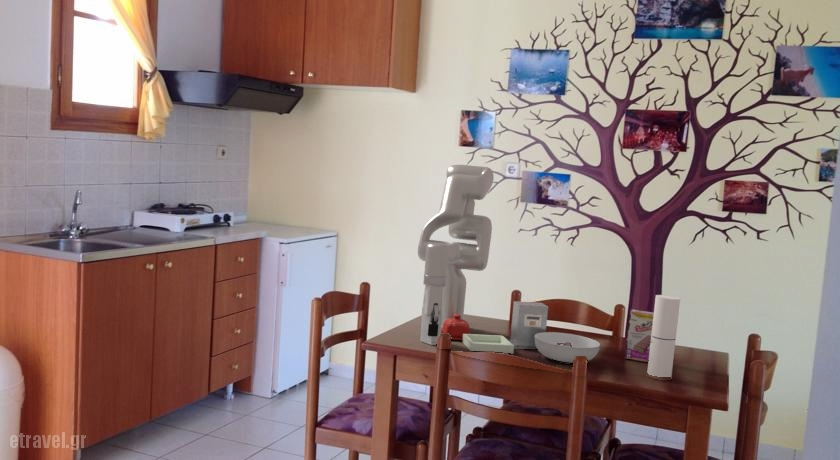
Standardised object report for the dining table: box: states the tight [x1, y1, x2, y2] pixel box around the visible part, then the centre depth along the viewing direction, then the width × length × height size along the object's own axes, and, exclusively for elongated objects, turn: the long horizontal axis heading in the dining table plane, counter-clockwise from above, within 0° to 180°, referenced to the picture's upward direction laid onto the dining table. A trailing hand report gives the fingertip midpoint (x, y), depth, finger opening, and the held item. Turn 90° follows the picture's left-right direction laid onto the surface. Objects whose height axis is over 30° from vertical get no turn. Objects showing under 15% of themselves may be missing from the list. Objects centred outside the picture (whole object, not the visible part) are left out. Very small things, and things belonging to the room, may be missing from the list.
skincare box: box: [419, 305, 442, 346], centre depth 254 cm, size 6×4×12 cm
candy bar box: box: [624, 309, 654, 360], centre depth 254 cm, size 11×5×16 cm, turn 71°
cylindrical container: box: [646, 294, 681, 378], centre depth 233 cm, size 7×7×25 cm
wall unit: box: [507, 300, 549, 350], centre depth 260 cm, size 9×12×15 cm
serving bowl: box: [534, 331, 601, 364], centre depth 246 cm, size 21×21×7 cm
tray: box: [461, 333, 515, 355], centre depth 255 cm, size 14×14×3 cm
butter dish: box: [441, 314, 471, 341], centre depth 265 cm, size 12×12×8 cm
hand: (430, 333), depth 254 cm, fingers closed on skincare box, 7 cm apart
